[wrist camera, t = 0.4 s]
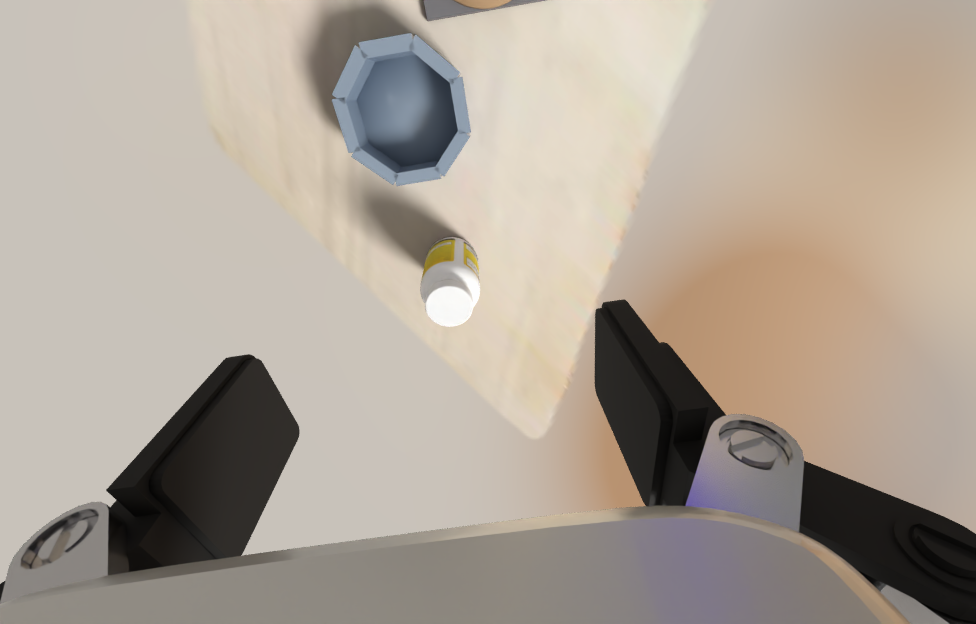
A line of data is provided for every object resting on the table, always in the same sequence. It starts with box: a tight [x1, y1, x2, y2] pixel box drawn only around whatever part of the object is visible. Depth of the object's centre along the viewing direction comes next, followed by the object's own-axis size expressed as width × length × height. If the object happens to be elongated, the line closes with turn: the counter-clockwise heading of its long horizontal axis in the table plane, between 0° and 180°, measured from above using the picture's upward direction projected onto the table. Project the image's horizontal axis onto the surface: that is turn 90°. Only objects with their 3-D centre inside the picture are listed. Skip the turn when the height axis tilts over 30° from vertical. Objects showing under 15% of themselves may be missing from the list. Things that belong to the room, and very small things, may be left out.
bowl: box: [332, 33, 471, 186], centre depth 31 cm, size 10×10×4 cm
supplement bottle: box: [420, 237, 480, 327], centre depth 35 cm, size 5×5×10 cm
